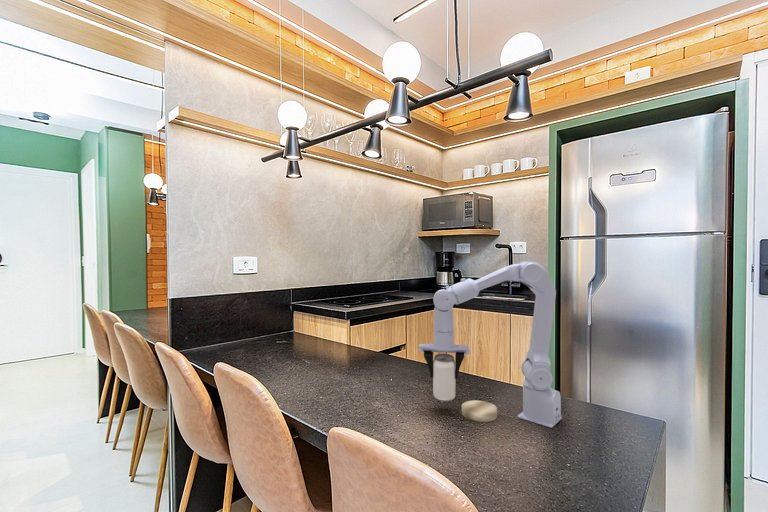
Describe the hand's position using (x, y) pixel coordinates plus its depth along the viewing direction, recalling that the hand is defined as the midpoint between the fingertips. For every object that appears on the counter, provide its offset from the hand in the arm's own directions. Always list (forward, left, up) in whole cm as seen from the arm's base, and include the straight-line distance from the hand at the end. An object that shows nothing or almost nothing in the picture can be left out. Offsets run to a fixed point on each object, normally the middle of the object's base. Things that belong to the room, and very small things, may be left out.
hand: (444, 377), depth 107 cm
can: (+1, -1, -6) cm, 6 cm away
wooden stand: (-8, -6, -10) cm, 14 cm away
